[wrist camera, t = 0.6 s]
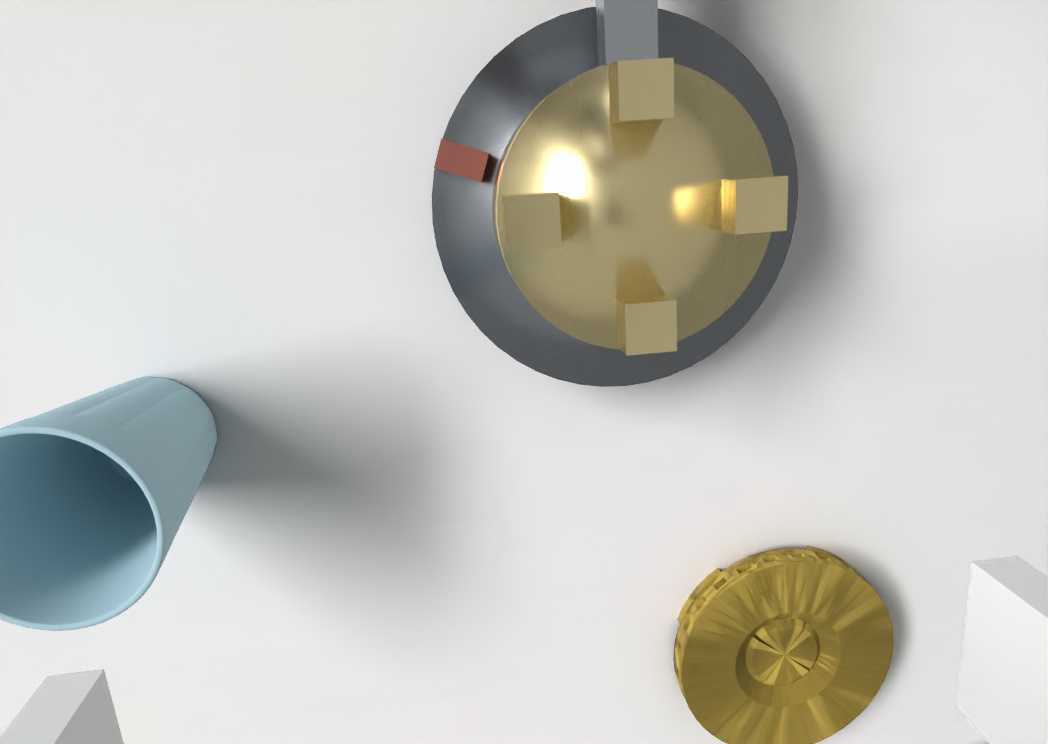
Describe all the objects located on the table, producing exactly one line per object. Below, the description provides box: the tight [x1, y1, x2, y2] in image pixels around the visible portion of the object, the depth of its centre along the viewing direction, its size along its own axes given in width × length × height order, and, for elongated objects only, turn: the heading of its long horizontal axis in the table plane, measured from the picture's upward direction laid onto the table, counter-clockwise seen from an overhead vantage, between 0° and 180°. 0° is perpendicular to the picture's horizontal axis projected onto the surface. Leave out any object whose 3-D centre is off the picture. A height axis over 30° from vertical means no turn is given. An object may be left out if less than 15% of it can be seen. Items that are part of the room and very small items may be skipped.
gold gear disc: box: [674, 546, 893, 744], centre depth 41 cm, size 12×12×2 cm
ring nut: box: [492, 0, 788, 356], centre depth 28 cm, size 19×11×9 cm, turn 4°
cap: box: [432, 7, 798, 386], centre depth 33 cm, size 16×16×3 cm
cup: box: [0, 377, 217, 631], centre depth 30 cm, size 8×8×10 cm
